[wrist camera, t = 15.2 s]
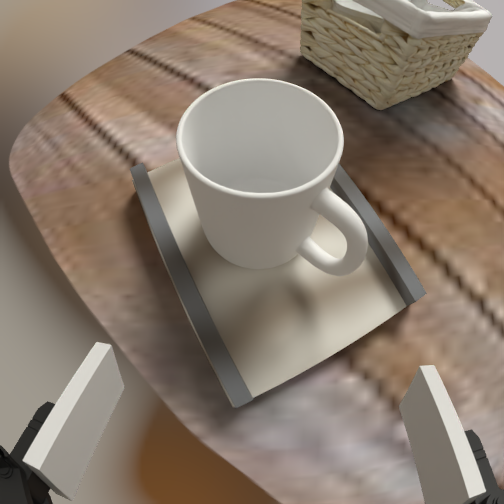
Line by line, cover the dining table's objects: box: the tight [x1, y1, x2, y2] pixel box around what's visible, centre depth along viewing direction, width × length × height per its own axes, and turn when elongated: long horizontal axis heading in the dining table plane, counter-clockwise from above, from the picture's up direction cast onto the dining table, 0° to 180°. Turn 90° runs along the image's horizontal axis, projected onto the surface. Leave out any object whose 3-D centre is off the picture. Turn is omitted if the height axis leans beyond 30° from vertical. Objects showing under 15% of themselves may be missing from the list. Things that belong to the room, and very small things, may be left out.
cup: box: [176, 78, 368, 276], centre depth 19 cm, size 8×12×10 cm
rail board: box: [130, 158, 427, 408], centre depth 23 cm, size 20×16×3 cm
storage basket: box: [300, 0, 492, 110], centre depth 28 cm, size 24×16×15 cm
